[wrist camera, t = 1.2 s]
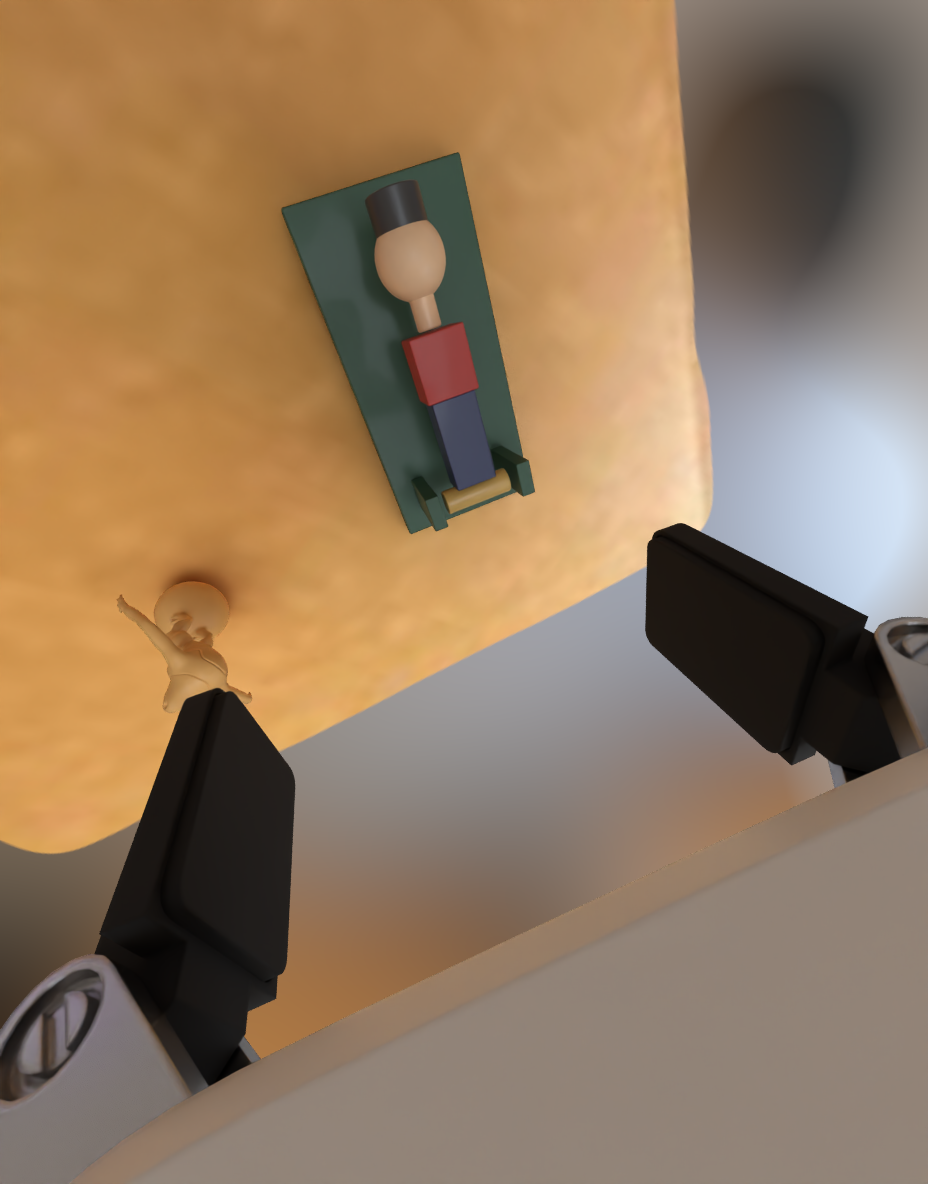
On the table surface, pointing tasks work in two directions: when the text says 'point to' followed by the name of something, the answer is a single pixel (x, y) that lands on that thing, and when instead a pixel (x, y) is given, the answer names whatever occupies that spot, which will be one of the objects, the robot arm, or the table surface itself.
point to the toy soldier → (434, 343)
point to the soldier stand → (407, 332)
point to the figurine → (188, 640)
